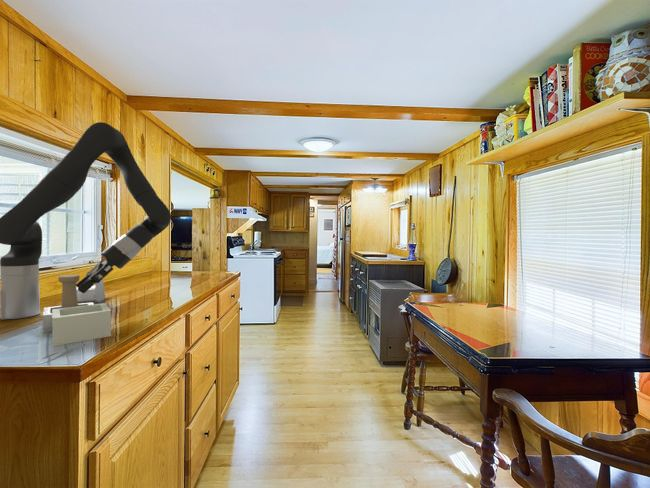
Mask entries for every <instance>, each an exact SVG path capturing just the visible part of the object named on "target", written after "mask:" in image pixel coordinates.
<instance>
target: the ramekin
mask: <svg viewBox="0 0 650 488" xmlns="http://www.w3.org/2000/svg"><path fill="white" fill-rule="evenodd" d="M95 287H96V284H94V285H93V286H92V287H91V288H90V289H88V290H87V291H86V292H85V293H82V292H80V291H79V290H78V287H77V286H76V289H77V300H78V303H89V302H94V295H95Z"/></svg>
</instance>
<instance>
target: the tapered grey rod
mask: <svg viewBox="0 0 650 488" xmlns="http://www.w3.org/2000/svg"><path fill="white" fill-rule="evenodd" d="M95 285H96V287H95V295H94V301H93V304H102V303H106V294H105V283H104V279H102V280H101V281H100V282H99V283H97V284H95Z"/></svg>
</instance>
